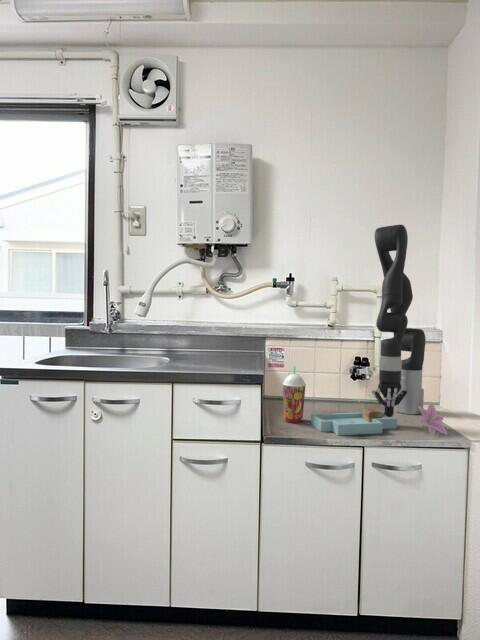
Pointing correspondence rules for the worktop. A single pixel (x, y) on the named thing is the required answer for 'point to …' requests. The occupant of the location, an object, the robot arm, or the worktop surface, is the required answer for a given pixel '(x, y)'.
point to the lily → (431, 419)
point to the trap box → (351, 423)
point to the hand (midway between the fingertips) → (388, 416)
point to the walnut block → (371, 414)
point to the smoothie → (293, 397)
